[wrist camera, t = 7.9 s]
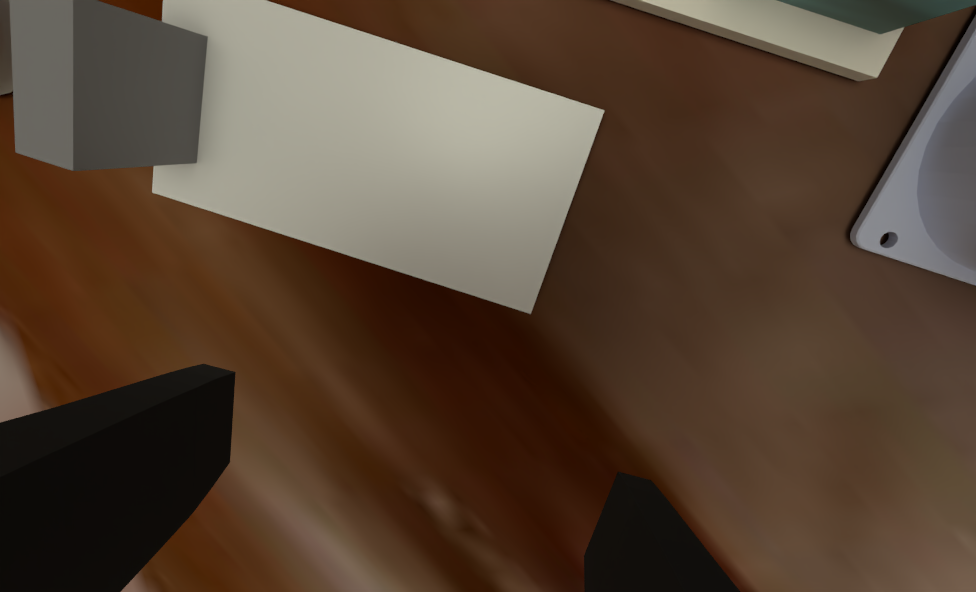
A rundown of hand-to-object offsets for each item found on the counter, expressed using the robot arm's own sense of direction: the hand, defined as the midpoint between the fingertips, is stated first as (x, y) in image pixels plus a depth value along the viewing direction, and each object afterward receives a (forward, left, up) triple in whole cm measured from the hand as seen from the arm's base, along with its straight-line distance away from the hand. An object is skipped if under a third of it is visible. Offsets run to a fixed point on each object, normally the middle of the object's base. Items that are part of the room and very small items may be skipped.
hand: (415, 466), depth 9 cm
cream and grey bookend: (+5, -4, -9) cm, 11 cm away
